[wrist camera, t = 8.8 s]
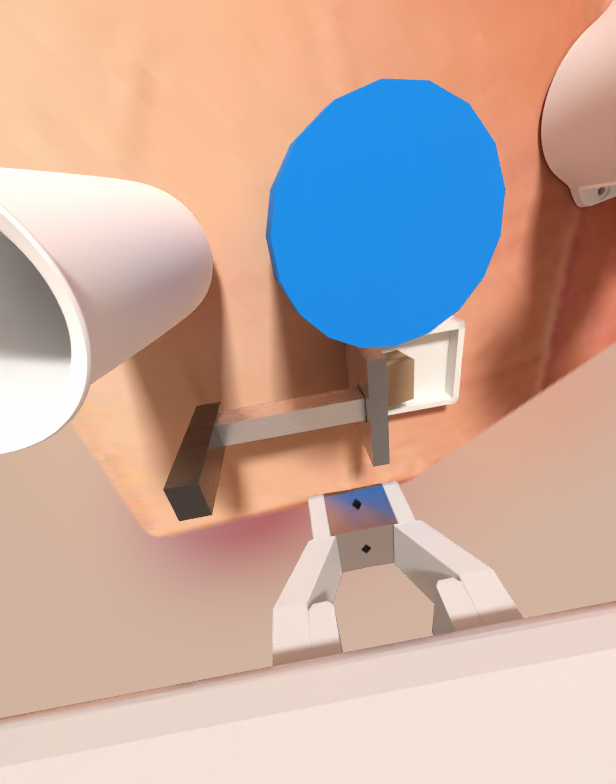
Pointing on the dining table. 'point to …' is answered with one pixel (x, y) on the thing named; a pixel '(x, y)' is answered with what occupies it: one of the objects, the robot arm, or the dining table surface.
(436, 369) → the tray
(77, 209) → the vase
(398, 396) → the block
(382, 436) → the bearing wall
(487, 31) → the dining table surface
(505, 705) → the robot arm
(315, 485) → the dining table surface
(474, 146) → the thermos
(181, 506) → the shaft
